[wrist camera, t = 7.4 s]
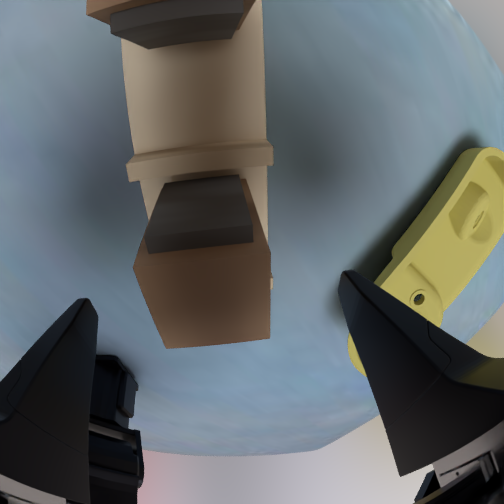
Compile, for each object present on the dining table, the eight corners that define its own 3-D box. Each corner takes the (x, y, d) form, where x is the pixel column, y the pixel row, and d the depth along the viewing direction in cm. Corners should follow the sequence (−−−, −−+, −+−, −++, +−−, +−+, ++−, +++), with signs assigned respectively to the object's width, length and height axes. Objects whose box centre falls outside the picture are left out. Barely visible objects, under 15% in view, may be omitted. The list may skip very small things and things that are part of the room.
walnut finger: (176, 257, 15) (166, 348, 10) (159, 176, 12) (126, 250, 7) (249, 248, 15) (269, 338, 10) (245, 166, 12) (270, 234, 8)
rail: (169, 264, 17) (156, 374, 11) (132, -13, 7) (65, -74, 1) (262, 254, 18) (291, 360, 11) (252, -27, 8) (295, -108, 2)
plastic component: (489, 132, 12) (545, 226, 12) (445, 139, 19) (501, 210, 19) (320, 345, 19) (400, 398, 19) (318, 300, 26) (385, 351, 26)
